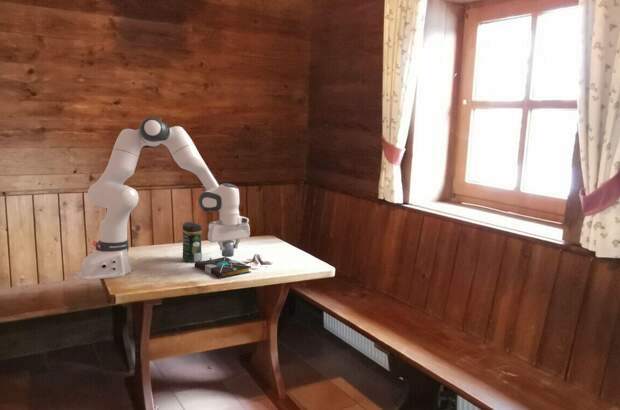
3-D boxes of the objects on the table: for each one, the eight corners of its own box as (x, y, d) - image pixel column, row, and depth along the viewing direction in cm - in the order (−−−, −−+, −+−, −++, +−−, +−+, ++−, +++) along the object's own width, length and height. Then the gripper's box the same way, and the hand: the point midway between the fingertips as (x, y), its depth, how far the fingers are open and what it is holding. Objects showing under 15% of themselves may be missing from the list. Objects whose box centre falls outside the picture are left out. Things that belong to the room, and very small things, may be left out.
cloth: (247, 272, 237) (248, 259, 236) (231, 262, 252) (231, 250, 251) (290, 267, 249) (290, 254, 248) (271, 257, 264) (272, 246, 263)
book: (194, 268, 239) (194, 258, 239) (225, 263, 251) (225, 252, 250) (219, 280, 224) (220, 269, 223) (251, 273, 235) (252, 263, 234)
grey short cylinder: (226, 257, 235) (226, 243, 233) (219, 254, 238) (219, 240, 237) (235, 255, 238) (236, 242, 237) (229, 252, 242) (229, 239, 241)
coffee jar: (180, 259, 253) (180, 221, 250) (195, 256, 258) (195, 220, 255) (188, 263, 245) (188, 225, 242) (204, 261, 250) (204, 223, 247)
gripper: (212, 223, 226) (211, 253, 228) (252, 218, 239) (251, 248, 241) (205, 220, 231) (205, 250, 233) (244, 216, 243) (244, 245, 246)
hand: (229, 249), depth 237 cm, fingers closed on grey short cylinder, 5 cm apart
